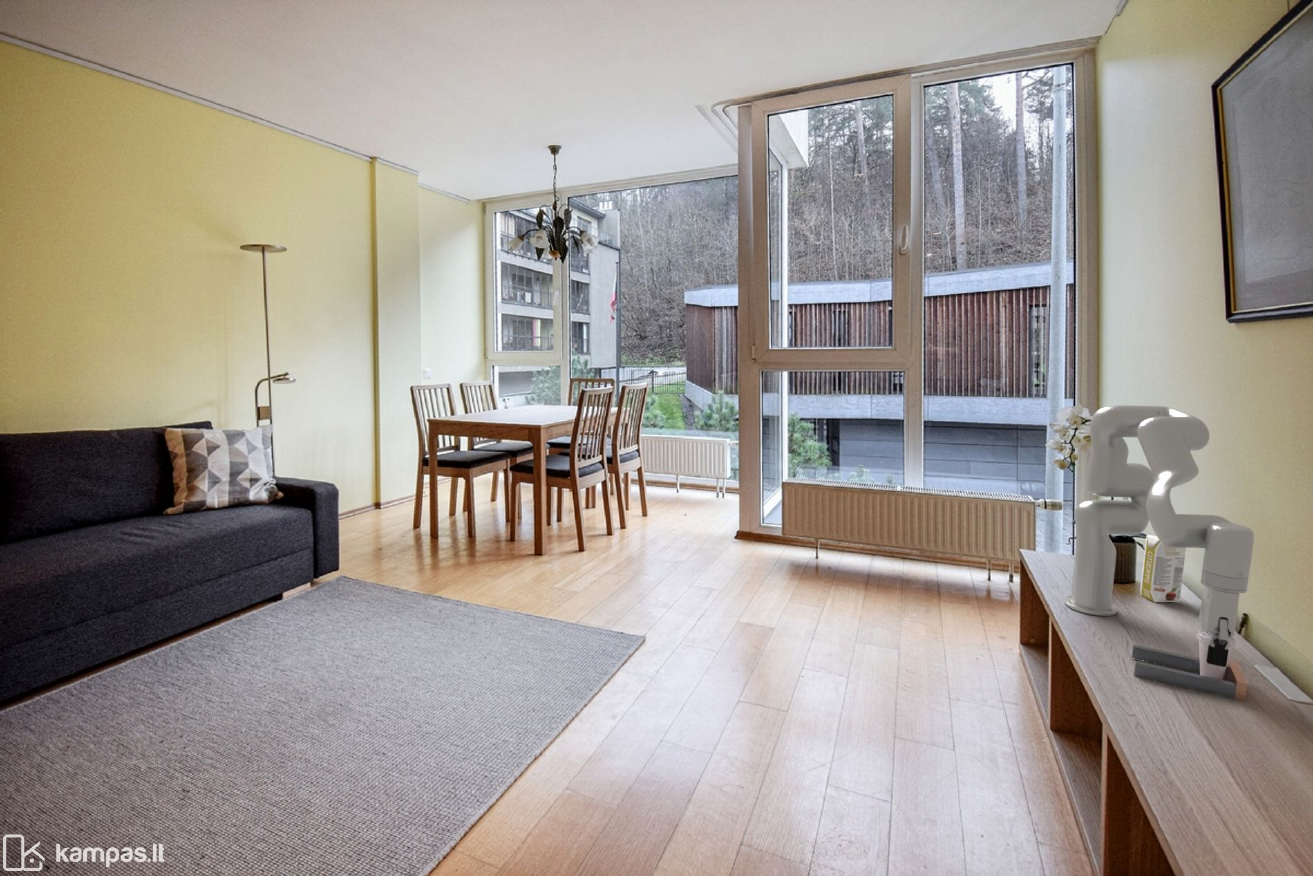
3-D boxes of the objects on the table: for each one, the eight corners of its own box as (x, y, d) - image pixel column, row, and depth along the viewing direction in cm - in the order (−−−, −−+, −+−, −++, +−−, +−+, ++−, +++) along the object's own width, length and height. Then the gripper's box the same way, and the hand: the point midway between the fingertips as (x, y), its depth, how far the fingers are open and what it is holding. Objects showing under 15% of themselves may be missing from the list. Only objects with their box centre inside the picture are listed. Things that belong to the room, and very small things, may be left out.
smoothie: (1185, 673, 141) (1193, 614, 139) (1203, 668, 143) (1211, 609, 141) (1219, 687, 135) (1227, 625, 133) (1237, 682, 137) (1245, 621, 136)
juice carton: (1184, 604, 184) (1191, 541, 182) (1154, 604, 184) (1161, 541, 182) (1163, 594, 192) (1170, 534, 189) (1135, 594, 192) (1141, 534, 189)
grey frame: (1131, 656, 152) (1133, 640, 151) (1234, 678, 141) (1237, 662, 141) (1134, 676, 142) (1136, 659, 142) (1245, 701, 132) (1247, 684, 131)
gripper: (1196, 566, 145) (1186, 639, 148) (1207, 588, 131) (1196, 669, 134) (1239, 572, 141) (1229, 648, 144) (1255, 596, 127) (1244, 680, 129)
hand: (1213, 657), depth 139 cm, fingers closed on smoothie, 6 cm apart
